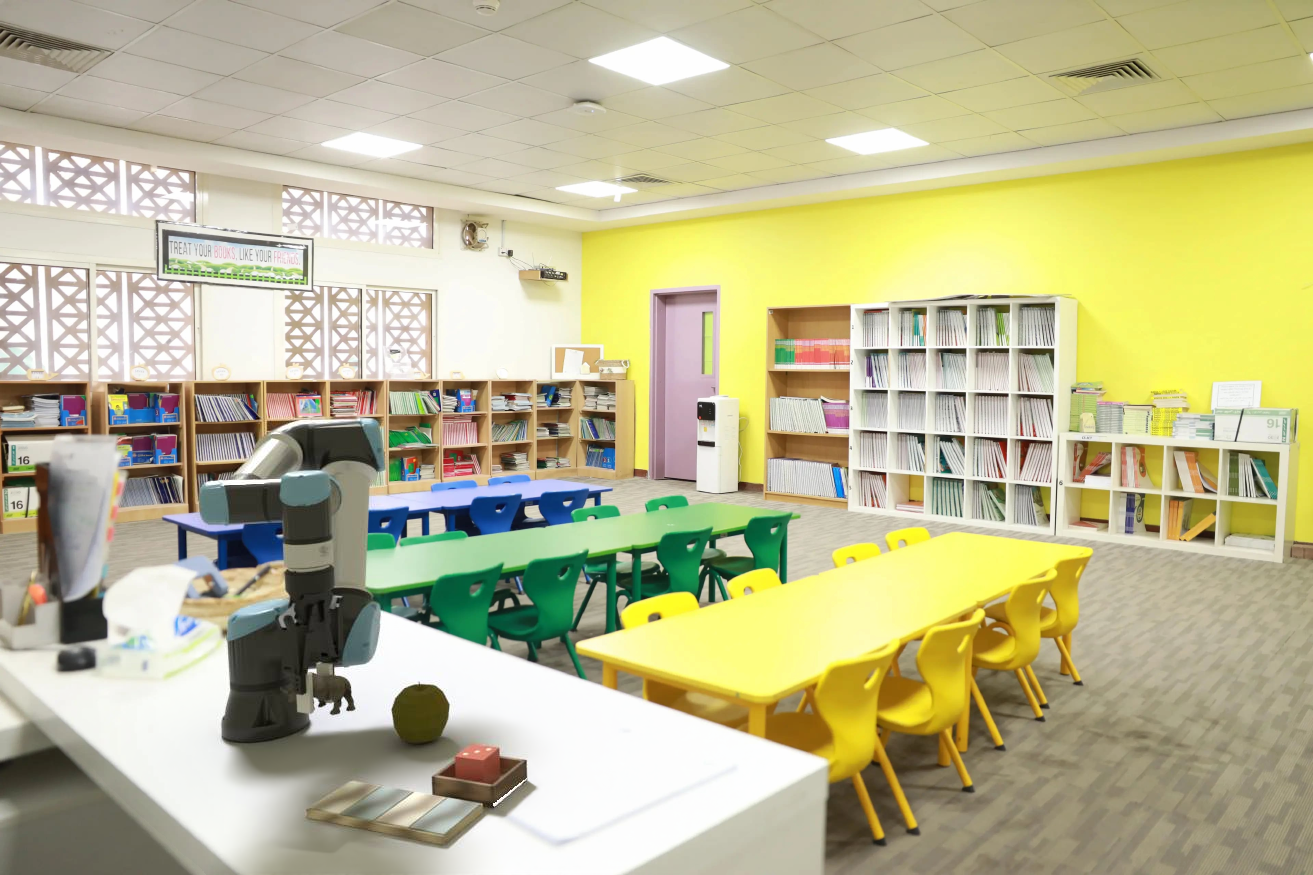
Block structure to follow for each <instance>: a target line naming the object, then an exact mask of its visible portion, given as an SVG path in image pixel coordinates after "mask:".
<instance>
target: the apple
mask: <svg viewBox="0 0 1313 875" xmlns="http://www.w3.org/2000/svg"><path fill="white" fill-rule="evenodd" d="M450 705H451V704H450V702H449V701H448V699H447V697H446V694H445V692H444V691H443V690H442V689H441V688H440V687H438V686H437V685H435V684H428V683H427V684H425V683H421V682H418V683H416V684H412V685H409V686H405V687H404V688H403V689H402V690H400V692H399V693H398V694H397V695H396V697H395V698H394V701H393V704H392V707H391V715H392V716H391V717H392V722H393V728H394V730H395V732H396V733H397V735H398V737H399V740H402V741H403V742H407V743H410V744H415V745H422V744H426V743H430V742H432V741H434V740H436V739H438V738H439V737H441V736H442V735H443V732H444V730H445V728H446V726H447V723H448V721H449V716H450V707H451V706H450Z"/></svg>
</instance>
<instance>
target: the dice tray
mask: <svg viewBox="0 0 1313 875" xmlns="http://www.w3.org/2000/svg"><path fill="white" fill-rule="evenodd" d="M527 762H528V760H527V759H525V758H524V759H523V758H518V757H510V756H504V755H500V779H498V780H497V781H496V782H495V783H494V784H486V783H480V782H474V781H468V780H462V779H456V772H455V759H454V760H453V761H451V762H450V763H449V764H447V765H445V767H443V768H441V769H440V770H439V771H437V772H436V773H435V774H433V775H432V776H431V790H432V792H431V793H432V794H431V795H436V796H442V797H447V798H453V799H459V800H464V801H470V802H476V803H481V804H483V808H484V807H486V808H490V809H495V808H494V806H493V803H495V802H497V800H499V799H500V798H501V797H503V796H504V795H505V794H507V793H508V792H509V791H510V790H512V789H513V788H514V787H515V786H517V785H518V784H519V783H521V782H522V781H523V780H525V779H526V778H527V779H528V763H527Z"/></svg>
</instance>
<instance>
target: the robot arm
mask: <svg viewBox="0 0 1313 875" xmlns="http://www.w3.org/2000/svg"><path fill="white" fill-rule="evenodd" d="M379 423H380V422H379V421H378V420H377V419H375V418H372V417H370V418H369V417H359V416H356V417H355V418H354V417H353V418H352V417H351V418H314V419H312V418H305V419H298V420H295V421H291V422H288V423H285V424H283V425H281V426H278V427H276V428H274V429H272V430H270V431H269V432H267V433H266V434H264V435H263V436H262V437H260V438H259V440H258V441H257V442H256V444H255V445H254V448H253V451H252V455H251V456H250V457H249V458H248V459H247V460H246V461H245V462H244V463H243V464H242V465H241V466H240V467H239V468H238V469H237V470H236V471H235V472H234V473H233V474H232V476H231V477H230V478H228V479H226V480H224V479H223V480H222V479H218V480H211V481H206V482H204V483H203V484H202V486H201V487H200V490H199V495H198V509H199V510H198V511H199V515H200V518H201V520H202V521H203V523H204V524H206V525H208V526H225V527H227V526H234V525H237V526H238V525H252V524H270V523H273V524H274V523H282V524H281V525H282V526H281V527H282V539H283V540H282V548H283V549H282V550H283V551H282V552H283V567H285V568H286V569H285V571H284V589H285V592H286V593H287V594H288V595H289V598H275V599H270V600H269V599H268V600H264V601H261V602H256V603H253V604H250V605H246V606H244V607H241V608H239V609H237V610H236V611H234V612H232V613H231V615H230V616H229V617H228V619H227V627H226V628H227V630H226V631H227V633H226V634H227V635H226V643H227V659H228V660H227V661H228V675H229V677H228V678H229V695H228V696H227V697H228V698H227V702H226V705H225V711H224V715H223V716H222V717H221V721H220V722H221V724H220V726H221V727H220V728H221V730H220V731H221V737H223V738H224V739H226V740H228V741H231V742H238V743H239V742H241V743H252V742H256V743H257V742H263V741H269V740H275V739H278V738H283V737H285V736H289V735H291V734H293V733H296V732H299V731H300V730H301V729H303V728H304V727H306V726H307V725H308V724H309V722H310V715H312V714H313V713H315V710H314V707H315V702H314V703H313V699H314V698H313V682H312V673H313V672H312V673H308V672H309V670H316V674H318V675H320V676H328V675H336V674H335V668H344V669H346V668H350V667H354V666H361V665H366V664H368V663H369V662H371V661H372V660H373V658H374V656H375V654H376V652H377V647H378V642H379V639H380V638H379V637H380V633H381V615H382V614H381V612H382V611H381V605H380V603H379V602H377V601H374V594H372V592H370V591H369V590H368V589H367V588H366V581H367V580H366V579H367V578H366V576H367V559H368V558H367V556H368V534H369V532H368V531H369V508H370V486H372V485H373V484H375V482H377V480H378V474H379V473H382V472H383V471H385V470H386V469H387V468H386V456H385V450H384V443H383V436H382V431H381V426H380V424H379ZM286 678H287V679H291V680H294V692H295V694H297V700H295V701H292V702H288V701H287V697H286V696H285V695H284V694H283V693H282V691H281V689H280V687H282V688H283V689H284V690H286V691H288V689H287V686H289V687H292V684H291V683H288V682H287V680H286ZM317 702H319V700H318V699H317ZM325 702H326V704H334V702H333V701H332V700H327V701H325Z"/></svg>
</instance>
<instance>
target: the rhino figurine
mask: <svg viewBox="0 0 1313 875" xmlns="http://www.w3.org/2000/svg"><path fill="white" fill-rule="evenodd" d="M308 673H312V682H313V703H314V704H315V700H314V699H316V700H317V701H318V700H319V703H318V705H317V707H318V708H323V707H325V706H326V705H327V703H326V702H325V701H327V700H332V701H333V707H332V709H331V710H330V711H329V714H330V715H331V716H335V715H339V714H341V710H340V708H341V707H342V706H343V701H342V699H343V698H344V699H345V701H346V703H347V706H346V708H345V711H347V712H353V711H355V710H356V706H355V700H354V698H353V696H352V685H351V682H350V681H349V680H348V678H346V677H345V676H342V675H336V674H335V675H328V676H320V675H318V674H317V672H311V671H308ZM286 680H287V682H288V683H291V684H292V687H289V686H287V689H288V691H286V690H284V689H283V688H282V687H280V689H281V691H282V693H283V694H284V695H285V696H286V697H287V701H288V702H292V701H295V700H297V694H295V692H294V680H291V679H287V678H286ZM315 709H316V708H315V706H314V711H315Z"/></svg>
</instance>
